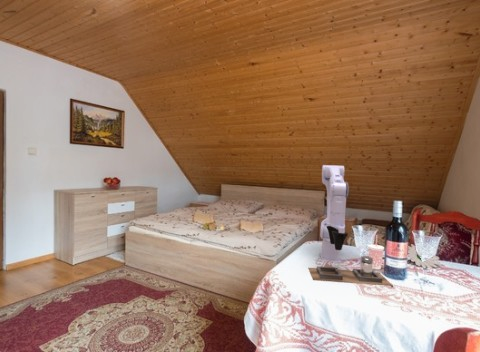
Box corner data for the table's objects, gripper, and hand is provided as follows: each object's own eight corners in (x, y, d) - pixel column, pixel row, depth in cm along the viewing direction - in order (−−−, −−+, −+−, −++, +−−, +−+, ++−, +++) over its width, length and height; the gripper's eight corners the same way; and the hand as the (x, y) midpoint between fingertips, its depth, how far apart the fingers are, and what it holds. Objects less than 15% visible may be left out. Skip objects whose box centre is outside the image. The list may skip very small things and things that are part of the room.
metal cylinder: (358, 274, 106) (359, 255, 106) (369, 275, 106) (370, 256, 106) (362, 279, 103) (363, 259, 102) (373, 279, 102) (374, 260, 102)
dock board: (307, 268, 112) (308, 264, 112) (379, 273, 110) (379, 268, 110) (313, 281, 100) (313, 276, 100) (393, 287, 98) (393, 281, 98)
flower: (363, 242, 133) (434, 242, 125) (362, 250, 136) (432, 250, 128) (368, 265, 122) (446, 266, 115) (368, 272, 125) (443, 274, 118)
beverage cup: (372, 263, 121) (374, 232, 120) (385, 268, 116) (388, 235, 115) (363, 266, 117) (365, 233, 117) (377, 271, 112) (379, 237, 112)
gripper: (323, 209, 116) (321, 241, 116) (331, 215, 101) (329, 251, 102) (340, 210, 115) (338, 242, 116) (351, 216, 100) (349, 253, 101)
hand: (335, 246), depth 109 cm, fingers open, 7 cm apart
